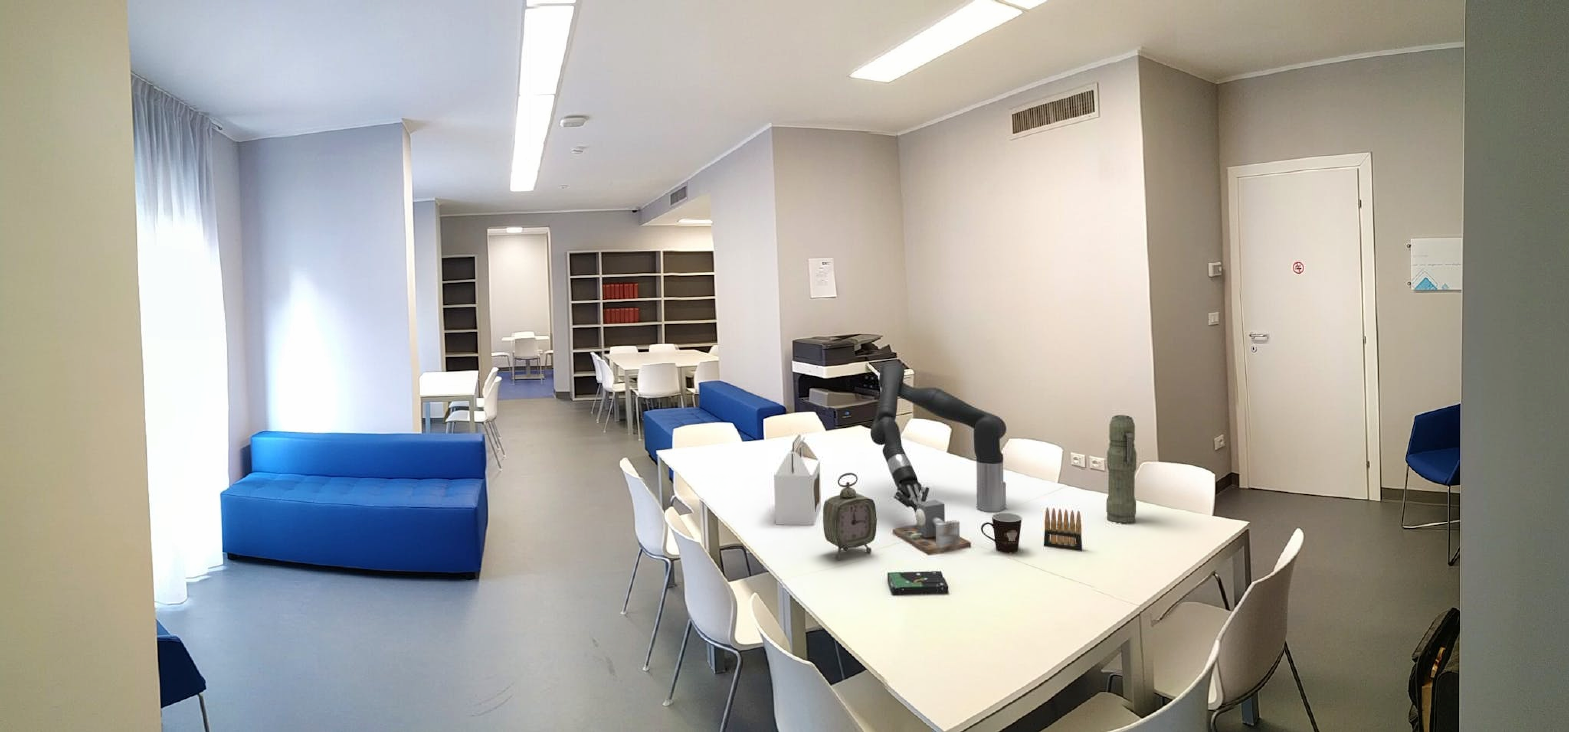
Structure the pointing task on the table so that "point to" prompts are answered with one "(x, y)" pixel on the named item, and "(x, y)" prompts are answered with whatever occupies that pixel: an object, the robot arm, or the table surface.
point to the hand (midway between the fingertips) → (922, 516)
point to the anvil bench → (935, 538)
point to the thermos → (1121, 470)
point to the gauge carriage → (929, 517)
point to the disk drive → (917, 583)
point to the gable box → (798, 487)
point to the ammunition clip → (1063, 531)
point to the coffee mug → (1005, 531)
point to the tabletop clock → (849, 519)
